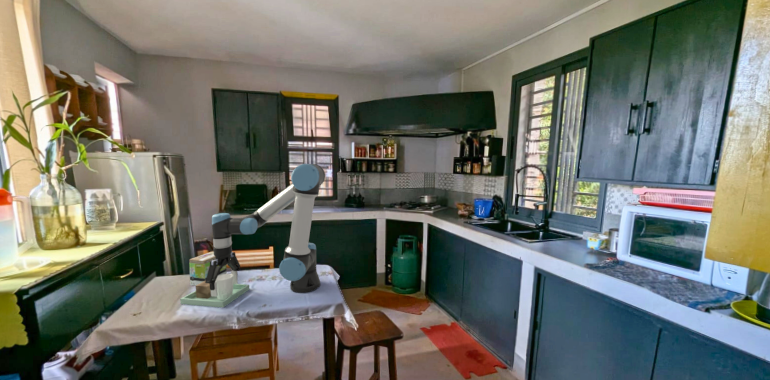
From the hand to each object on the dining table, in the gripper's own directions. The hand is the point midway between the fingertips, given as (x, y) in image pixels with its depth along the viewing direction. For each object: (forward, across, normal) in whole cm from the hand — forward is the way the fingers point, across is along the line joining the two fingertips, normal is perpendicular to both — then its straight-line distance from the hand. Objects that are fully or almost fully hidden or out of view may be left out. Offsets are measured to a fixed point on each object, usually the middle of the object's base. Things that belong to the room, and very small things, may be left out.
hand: (224, 289), depth 134 cm
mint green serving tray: (+4, 0, -4) cm, 6 cm away
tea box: (+4, -16, -22) cm, 28 cm away
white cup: (+4, 0, 0) cm, 4 cm away
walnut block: (+4, 0, -10) cm, 11 cm away
